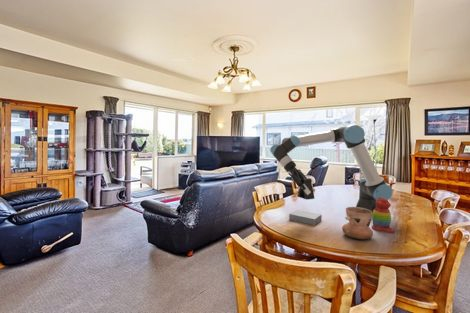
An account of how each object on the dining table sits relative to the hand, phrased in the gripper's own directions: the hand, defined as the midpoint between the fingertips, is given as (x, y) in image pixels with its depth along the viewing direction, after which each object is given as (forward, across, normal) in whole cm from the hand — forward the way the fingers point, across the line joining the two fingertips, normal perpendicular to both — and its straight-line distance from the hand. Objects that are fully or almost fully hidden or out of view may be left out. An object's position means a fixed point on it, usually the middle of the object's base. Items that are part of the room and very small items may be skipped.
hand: (311, 192), depth 155 cm
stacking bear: (+39, -12, +13) cm, 42 cm away
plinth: (+10, 0, -15) cm, 18 cm away
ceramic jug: (+33, +8, +8) cm, 35 cm away
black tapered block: (0, 0, -5) cm, 5 cm away
